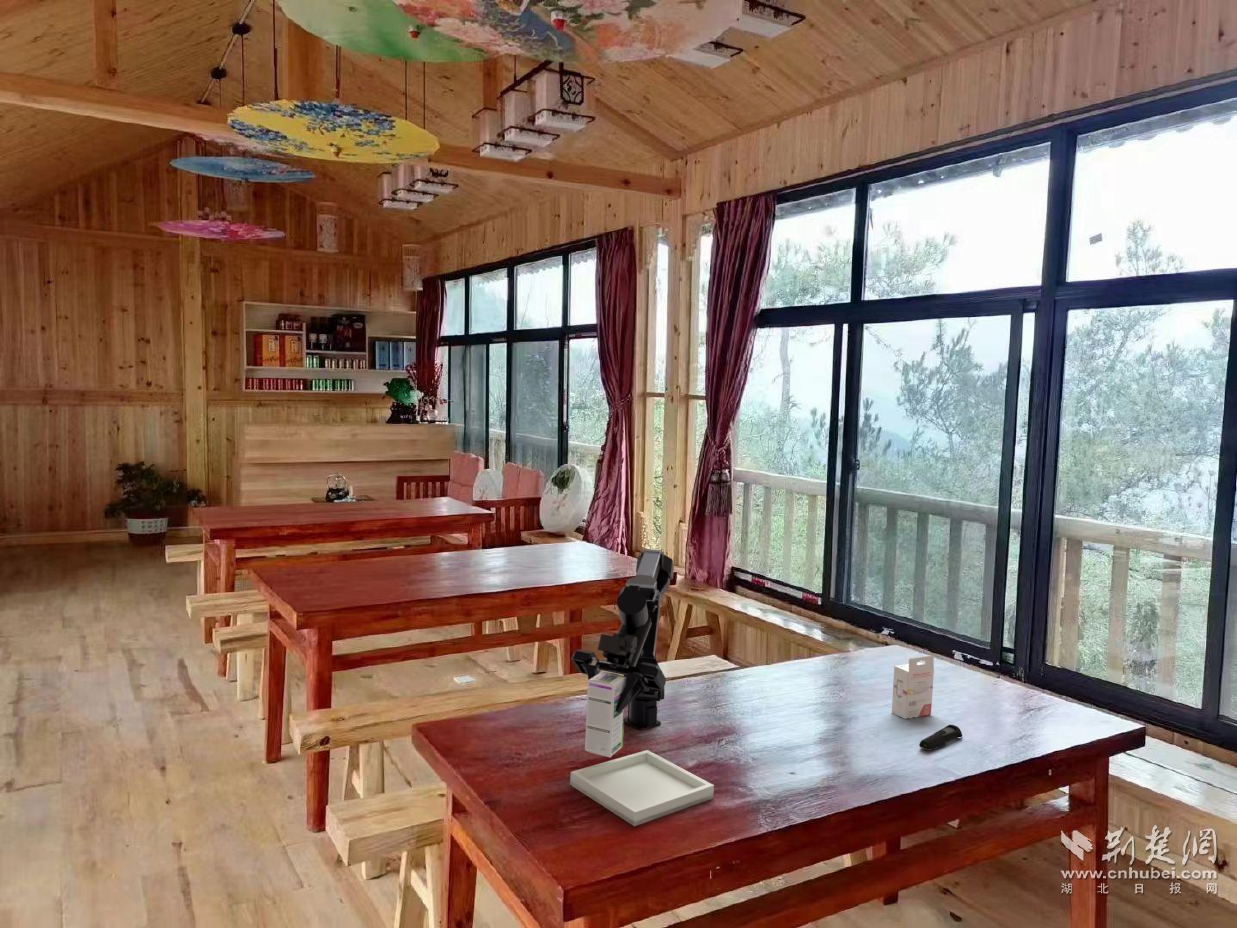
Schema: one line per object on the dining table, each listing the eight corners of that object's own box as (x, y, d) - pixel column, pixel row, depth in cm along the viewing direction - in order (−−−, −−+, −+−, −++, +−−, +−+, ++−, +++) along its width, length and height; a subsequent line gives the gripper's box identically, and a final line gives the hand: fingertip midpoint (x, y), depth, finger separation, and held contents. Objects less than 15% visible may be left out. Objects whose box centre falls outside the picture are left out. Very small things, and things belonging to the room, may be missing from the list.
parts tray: (570, 784, 165) (570, 771, 165) (646, 761, 177) (647, 749, 177) (634, 826, 150) (635, 812, 150) (713, 798, 162) (713, 785, 162)
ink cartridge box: (915, 708, 216) (920, 649, 215) (931, 715, 211) (936, 655, 210) (890, 712, 212) (894, 653, 211) (905, 719, 207) (909, 659, 206)
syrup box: (610, 758, 166) (615, 684, 165) (583, 750, 169) (587, 678, 167) (623, 747, 171) (627, 675, 170) (596, 740, 174) (600, 669, 172)
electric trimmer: (913, 751, 190) (914, 736, 190) (947, 733, 201) (948, 720, 200) (929, 756, 187) (930, 742, 187) (963, 738, 198) (964, 725, 198)
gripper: (577, 609, 175) (546, 679, 167) (662, 624, 167) (634, 698, 158) (594, 638, 183) (566, 705, 174) (677, 654, 175) (651, 726, 166)
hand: (602, 708), depth 168 cm, fingers closed on syrup box, 6 cm apart
